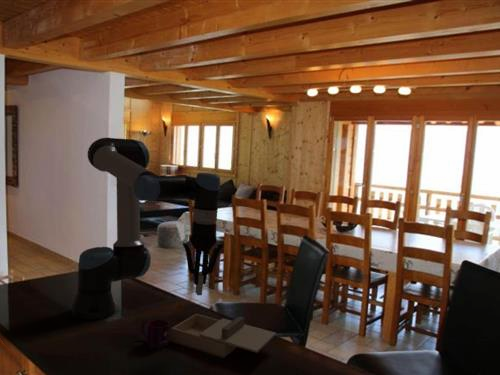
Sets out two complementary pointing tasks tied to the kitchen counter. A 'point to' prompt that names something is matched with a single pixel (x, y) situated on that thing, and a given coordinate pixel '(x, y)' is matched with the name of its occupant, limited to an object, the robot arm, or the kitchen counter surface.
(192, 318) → the beige open box
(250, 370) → the kitchen counter surface
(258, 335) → the lid
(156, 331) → the mug
